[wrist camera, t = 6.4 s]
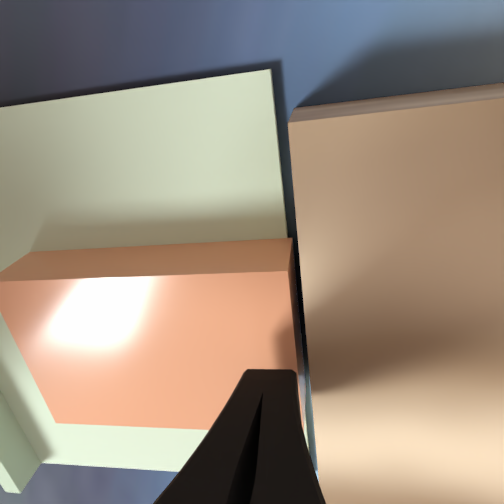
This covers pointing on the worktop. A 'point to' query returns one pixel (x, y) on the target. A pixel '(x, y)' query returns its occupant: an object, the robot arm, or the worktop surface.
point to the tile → (153, 328)
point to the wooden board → (404, 293)
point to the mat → (127, 224)
